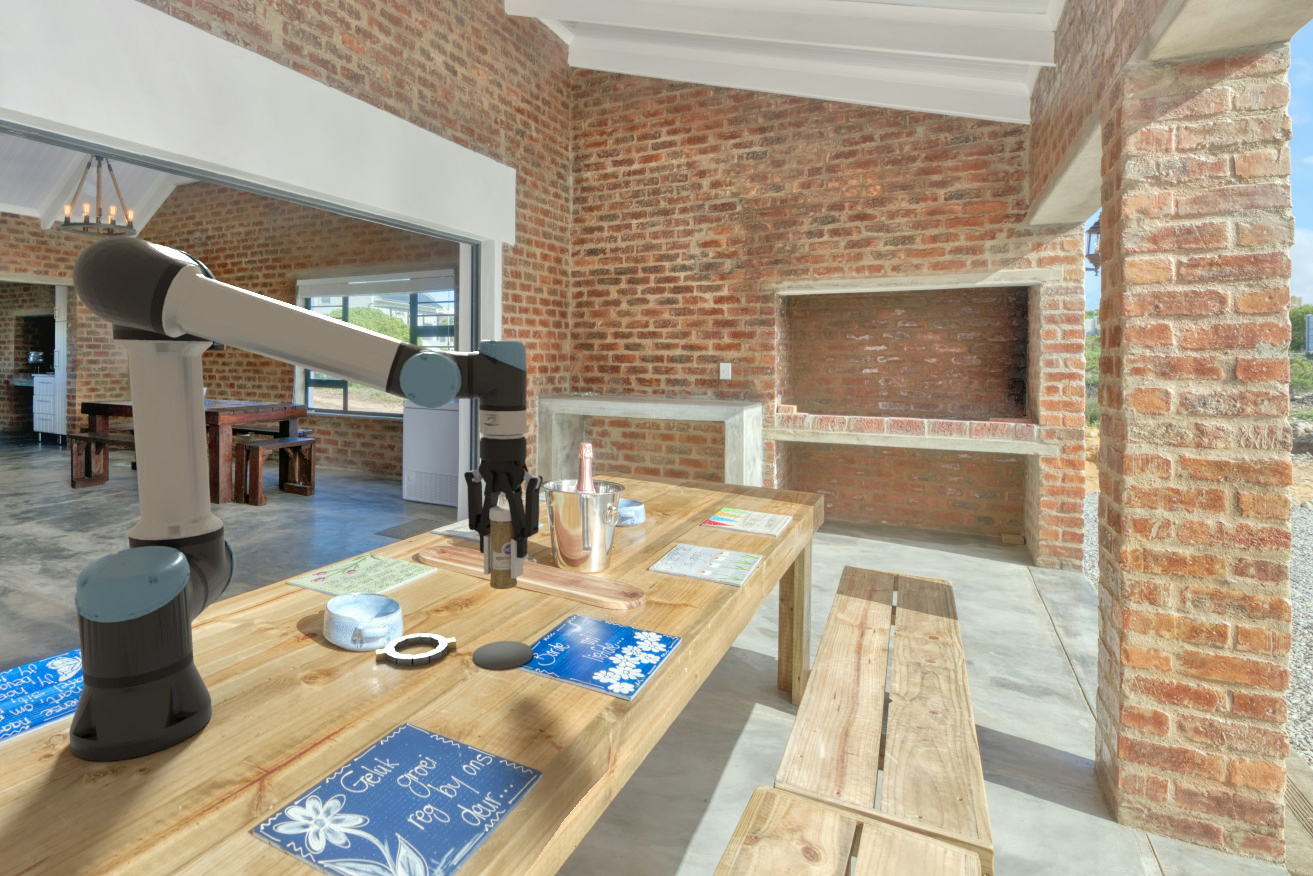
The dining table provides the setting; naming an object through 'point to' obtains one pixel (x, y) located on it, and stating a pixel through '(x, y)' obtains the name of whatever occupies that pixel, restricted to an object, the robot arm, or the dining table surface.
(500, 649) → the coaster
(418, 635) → the collar
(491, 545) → the sprinkles bottle
